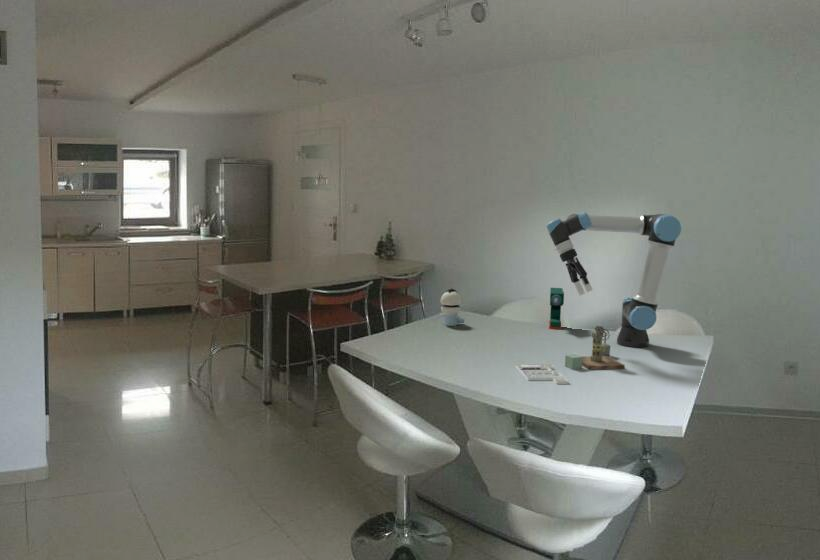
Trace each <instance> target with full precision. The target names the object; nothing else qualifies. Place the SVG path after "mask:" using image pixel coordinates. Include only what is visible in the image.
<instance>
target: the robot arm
mask: <svg viewBox="0 0 820 560" xmlns="http://www.w3.org/2000/svg"><path fill="white" fill-rule="evenodd" d="M546 229H547V232H548V234H549V236H550V239H551V240H552V243H553V245H554V247H555V250H556V251H557V253H558V254H559V257H560V259H561V261H562V262H564V263H565V262H566V263H565V267H566V269H567V272H568V275H569V278H570V282H571V283H573V284H574V286H575V288H576V291H577V293H578V295H579V296H583V295H585V294H586V293H589V292H591V291H594V289H593V287H592V285H591V282H590V281H589V279H588V272H587V271H586V269H585V268H584V267H583V265H582V264H581V262H580V261H579V258H578V257H577V256H578V253H577V251H576V248H574V244H573V243H572V240H571V238H570V236H572V235H575V234H576V233H579V232H582V231H593V232H611V233H614V232H615V233H616V232H617V233H630V234H631V233H635V234H639V235H640V236H648V239H647V242H648V243H649V248H648V253H647V255H646V259H645V263H644V267H643V270H642V274H641V278H640V282H639V285H638V289H637V292H636V295H634V296H633V297H624V298H623V299H622V304H621V305H622V306H621V307H622V308H621V309H622V312H621V326H620V330H619V332H618V335H617V338H616V344H617V345H620V346H623V347H630V348H645V347H649V346H650V339H649V335H648V331H647V330H649V329H651V328H652V327H653V326H654V325H655V324H656V322H657V313H656V312H657V310H658V309H657V308H658V305H659V303H658V301H657V300H656V299H657V295H658V292H659V288H660V286H661V285H660V284H661V281H662V279H663V278H662V277H663V274H664V270H665V266H666V263H667V260H668V259H667V258H668V255H669V252H670V250H671V249H673V248H674V246H675V244H676V241H677V239H678V237H680V235H681V232H682V225H681V222H680V221H679V219H678V218H677V217H676V216H673V215H672V214H667V213H664V214H663V213H658V214H656V213H655V214H642V215H639V216H626V215H625V216H621V215H599V214H597V215H596V214H588V212H586V211H583V212H580V213H578V214H577V213H572V214H569V215H568V216H567V218H566V219H565V220H561V218H556V219H554V220H552V221H550V222H548V223H547V224H546ZM578 276H579V277H578ZM581 282H582V284H581ZM585 291H586V292H585Z"/></svg>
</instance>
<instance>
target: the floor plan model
mask: <svg viewBox="0 0 820 560" xmlns="http://www.w3.org/2000/svg"><path fill="white" fill-rule="evenodd" d="M515 369H517V370H518V371H519V373H520V374H521V375H522V376H523V377H524V379H526V381H552V382H553V383H555V384H556V385H569V383H570V380H568V378H566V377H565V376H564V375H562V373H560V372H559V371H553V370H555V369H554V365H552V363H551V364H547V363H546V364H515ZM526 369H527V370H526ZM528 369H529V370H528ZM530 369H531V370H530ZM532 369H534V370H532ZM537 369H538V370H537ZM534 372H535V374H534ZM536 373H537V374H536ZM541 373H542V374H541ZM550 373H551V374H552V376H551V375H550ZM538 374H540V376H541V377H540V376H538ZM546 374H548V375H546Z"/></svg>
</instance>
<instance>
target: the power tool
mask: <svg viewBox="0 0 820 560" xmlns="http://www.w3.org/2000/svg"><path fill="white" fill-rule="evenodd" d="M549 291H550V292H549V295H550V297H549V306H550V314H549V315H550V316H549V317H550V318H549V320H548V329H550V330H562V321H561V308H562V307H563V305H564V300H565V292H564V289H563V288H562V287H550V290H549Z"/></svg>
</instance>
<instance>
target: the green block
mask: <svg viewBox="0 0 820 560" xmlns="http://www.w3.org/2000/svg"><path fill="white" fill-rule="evenodd" d="M582 357H583V356H581V355H578V354H576V353H575V354H574V353H573V354H566V355H565V357H564V358H565V359H564V367H566V368H567V369H570V370H579V369H582V368H583V366H582Z"/></svg>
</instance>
